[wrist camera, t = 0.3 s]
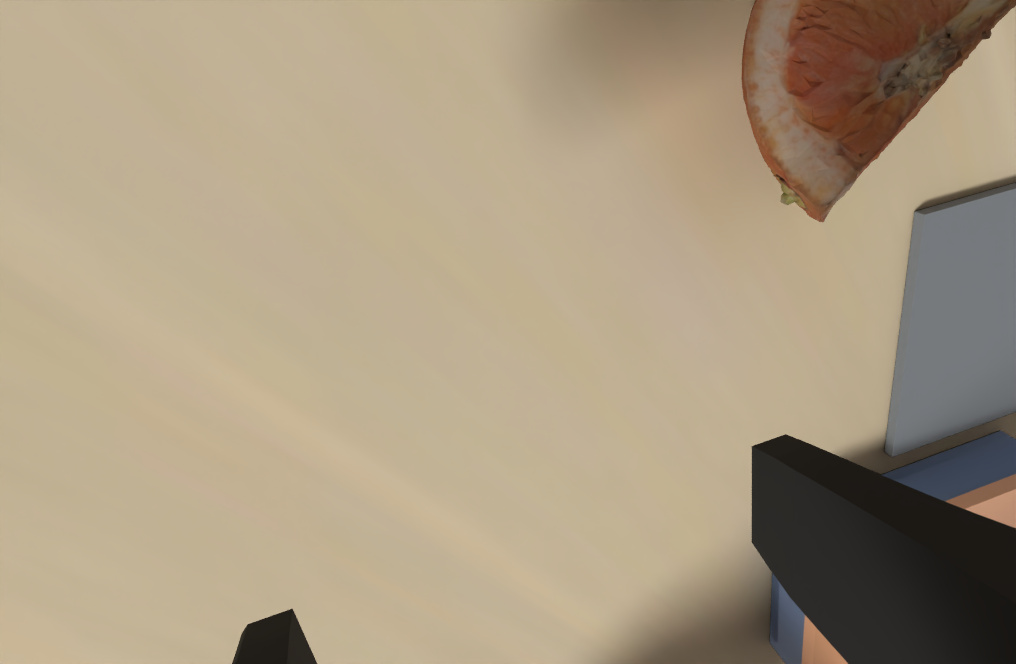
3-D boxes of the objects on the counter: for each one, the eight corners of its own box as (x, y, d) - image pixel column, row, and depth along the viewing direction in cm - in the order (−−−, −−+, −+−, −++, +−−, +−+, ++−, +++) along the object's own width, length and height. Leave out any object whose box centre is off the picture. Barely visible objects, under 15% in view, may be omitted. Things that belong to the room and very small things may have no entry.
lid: (1004, 585, 32) (1134, 687, 27) (785, 678, 29) (884, 808, 25) (1042, 442, 28) (1200, 532, 23) (792, 537, 26) (911, 659, 21)
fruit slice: (763, 230, 21) (887, 288, 17) (627, 82, 18) (737, 108, 14) (961, 7, 20) (1148, 9, 16) (853, -194, 17) (1051, -261, 13)
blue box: (971, 559, 33) (1019, 597, 31) (769, 642, 31) (805, 689, 29) (1000, 430, 29) (1056, 463, 27) (773, 514, 27) (816, 557, 25)
